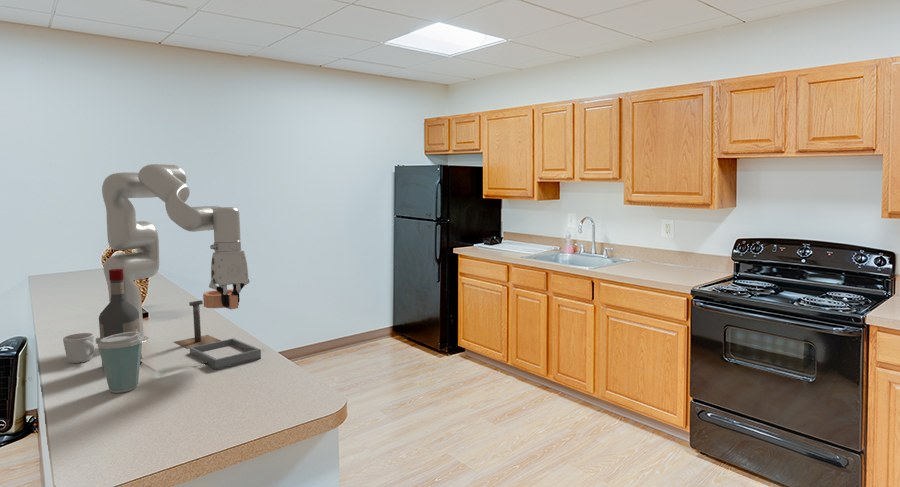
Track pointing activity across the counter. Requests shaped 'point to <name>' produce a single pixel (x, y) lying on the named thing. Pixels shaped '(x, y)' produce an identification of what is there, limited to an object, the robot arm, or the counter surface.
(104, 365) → the disposable coffee cup
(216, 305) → the ring
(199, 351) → the gray rectangular frame
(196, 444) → the counter surface
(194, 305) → the post stand
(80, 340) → the cup
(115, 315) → the liquor
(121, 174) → the robot arm
